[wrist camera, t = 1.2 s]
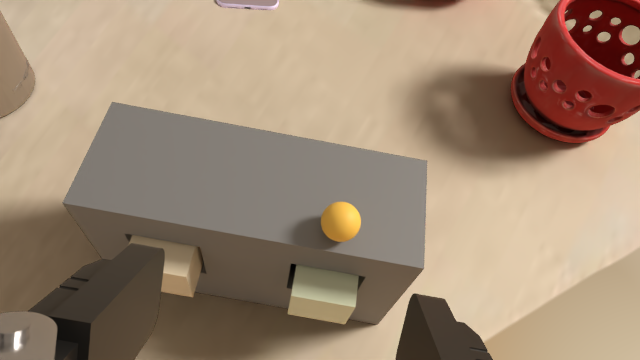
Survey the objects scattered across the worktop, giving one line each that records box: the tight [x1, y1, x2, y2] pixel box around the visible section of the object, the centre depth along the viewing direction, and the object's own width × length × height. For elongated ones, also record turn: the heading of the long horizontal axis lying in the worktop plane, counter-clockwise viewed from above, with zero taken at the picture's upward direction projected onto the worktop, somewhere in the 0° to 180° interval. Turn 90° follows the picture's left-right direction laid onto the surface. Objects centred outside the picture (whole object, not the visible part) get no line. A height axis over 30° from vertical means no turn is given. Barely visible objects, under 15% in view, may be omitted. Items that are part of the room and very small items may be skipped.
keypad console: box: [63, 102, 427, 324], centre depth 36 cm, size 8×22×15 cm, turn 82°
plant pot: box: [511, 0, 640, 143], centre depth 50 cm, size 13×13×12 cm
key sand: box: [129, 235, 204, 297], centre depth 34 cm, size 4×4×4 cm
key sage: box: [287, 264, 359, 324], centre depth 34 cm, size 4×4×4 cm
